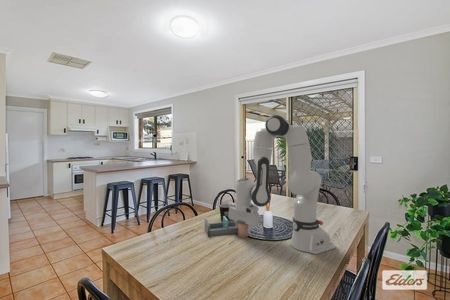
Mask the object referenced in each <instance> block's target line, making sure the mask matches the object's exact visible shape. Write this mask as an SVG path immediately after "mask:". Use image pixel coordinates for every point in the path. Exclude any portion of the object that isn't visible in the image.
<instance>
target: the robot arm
mask: <svg viewBox="0 0 450 300" xmlns="http://www.w3.org/2000/svg"><path fill="white" fill-rule="evenodd" d="M264 125H265V127H263V128H258V129H257V131H256V132H255V135H254V139H253V147H252V157H253V162H254V163H255V167H256V181H253V180H251V179H250V178H248V177H244V178H240V179H238V180H237V181H236V184H235V204H233V203H229V204H230V205H229V213H228V217H229V219H230V221H235V224H236V228H238V220H239V221H242V222H245V224H248V228H247V232H248V233H251V230H252V227H257V226H259V225H260V223H261V222H260V214H259V207H261V208H262V207H263V208H264V207H266V206H268V204H269V203H270V202H271V198H272V197H271V192H270V190H269V175H270V165H271V160H272V155H273V147H274V142H275V141H274V140H276V139H282V138H284V139H285V141H286V145H287V149H288V157H289V178H288V180H287V188H288V191H289V192H290V193H292V194H293V195H296V197H295V200H294V202H293V217H292V229H293V230H292V236H291V240H290V246H291V247H292V248H294V249H295V250H298V251H301V252H304V253H305V252H306V253H309V254H314V255H318V254H322V253H324V252H328V251H330V250H333V249H336V245H335V243H334V242H332V240H331V237H330V234H329V233H328V232H327V230H324V229H323V228H322V227H321V226H323V225H324V221H322V220H319V219H317V207H318V206H317V204H318V198H319V195H320V194H319V193H320V187H321V185H322V180H323V179H322V177H321V174H320V173H319V172H317V171H314V170H312V169H311V167H312V162H313V161H312V160H313V156H312V150H311V146H310V145H311V144H310V141H309V137H308V134H307V131H306V129H305V127H304V126H303V125H301V124H293V125H292V123H291V122H290V121H289V120H288V119H287V118H286V117H284V116H281V115H279V114H275V115H271V116H269V117H268V118H267V119H266V121H265V124H264Z"/></svg>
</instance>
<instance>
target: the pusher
mask: <svg viewBox="0 0 450 300" xmlns="http://www.w3.org/2000/svg"><path fill="white" fill-rule="evenodd" d="M222 222H223V228H224V229H225V228H228V222H229V221H228V220H227V218H226V217H225V216H223V221H222Z"/></svg>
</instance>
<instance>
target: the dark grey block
mask: <svg viewBox="0 0 450 300" xmlns="http://www.w3.org/2000/svg"><path fill="white" fill-rule="evenodd" d="M204 230H205V232H206V234H207V237H212V236H213V237H214V236H221V235H230V234H238V228H236V224H235V221H234V220H229V221H228V228H225V229H224V228H223V221H221V222H211V223H209V221H208V219H207V218H205V219H204Z"/></svg>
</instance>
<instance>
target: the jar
mask: <svg viewBox="0 0 450 300" xmlns="http://www.w3.org/2000/svg"><path fill="white" fill-rule="evenodd" d="M247 228H249V226H248V224H245V222H242V221H239V220H238V233H237V237H239V238H242V239H245V238H248V237H249V232H247Z"/></svg>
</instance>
